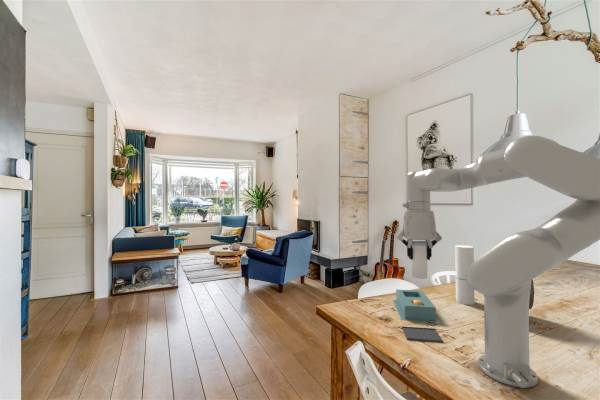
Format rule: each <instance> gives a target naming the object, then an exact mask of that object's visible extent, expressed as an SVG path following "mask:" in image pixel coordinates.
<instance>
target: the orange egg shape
mask: <svg viewBox="0 0 600 400" xmlns="http://www.w3.org/2000/svg"><path fill="white" fill-rule="evenodd" d="M413 305H422V301H421V300H413Z"/></svg>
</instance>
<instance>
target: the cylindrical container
mask: <svg viewBox="0 0 600 400" xmlns="http://www.w3.org/2000/svg"><path fill="white" fill-rule="evenodd" d="M474 250H475V249H474V246H472V245H466V244H465V245H464V244H456V245H455V246H454V253H455V254H454V255H455V256H454V258H455V269H454V270H455V302H456V303H458V304H461V305H465V306H473V305H475V289H474V288H473V287H472V286H471V284H470V282H469V280H468V269H469V267H470V265H471V264H472V263H473V262H474V261H475V255H474V254H475V253H474V252H475V251H474Z"/></svg>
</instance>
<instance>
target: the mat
mask: <svg viewBox="0 0 600 400" xmlns="http://www.w3.org/2000/svg"><path fill="white" fill-rule="evenodd" d="M401 329H402V331H403V333H404V335H405V338H406V341H417V342H419V341H420V342H434V343H443V342H444V340H443V339H442V337H441V336H440V334H439V332H438V331H437V329H436V328H430V327H417V326H416V327H414V326H401Z"/></svg>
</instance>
